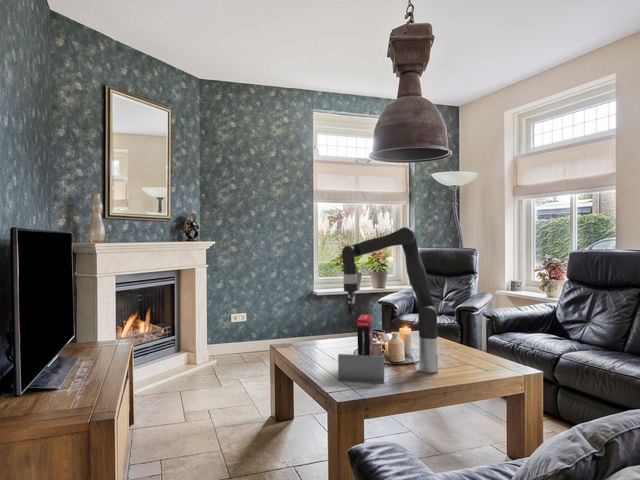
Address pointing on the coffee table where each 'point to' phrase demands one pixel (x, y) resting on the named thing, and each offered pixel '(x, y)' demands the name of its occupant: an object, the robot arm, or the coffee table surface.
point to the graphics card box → (365, 335)
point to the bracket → (361, 368)
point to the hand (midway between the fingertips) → (351, 312)
